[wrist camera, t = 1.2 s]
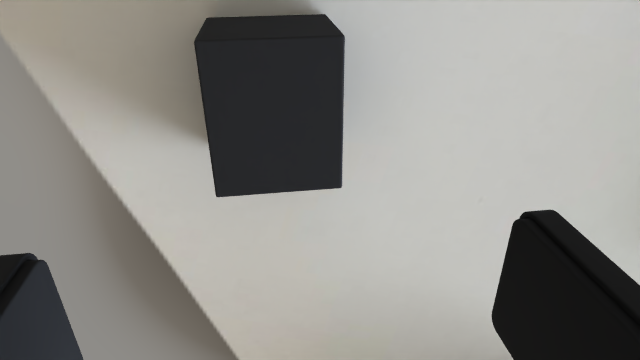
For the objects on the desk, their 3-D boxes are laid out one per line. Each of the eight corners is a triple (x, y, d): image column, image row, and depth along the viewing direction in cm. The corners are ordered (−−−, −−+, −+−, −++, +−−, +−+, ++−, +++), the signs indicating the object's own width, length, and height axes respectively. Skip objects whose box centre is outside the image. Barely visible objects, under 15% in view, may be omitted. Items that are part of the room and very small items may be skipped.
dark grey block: (205, 17, 18) (193, 40, 14) (325, 14, 19) (345, 35, 15) (222, 149, 21) (216, 198, 17) (326, 142, 22) (342, 188, 18)
